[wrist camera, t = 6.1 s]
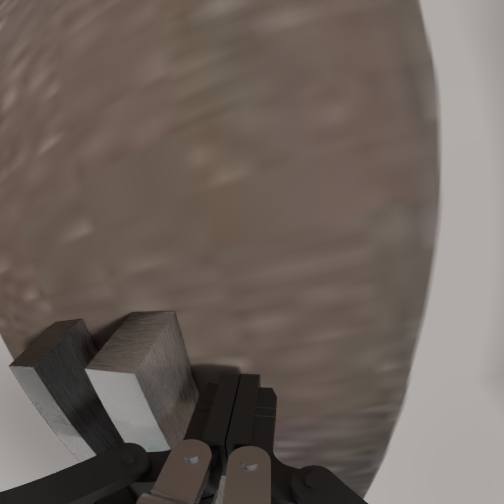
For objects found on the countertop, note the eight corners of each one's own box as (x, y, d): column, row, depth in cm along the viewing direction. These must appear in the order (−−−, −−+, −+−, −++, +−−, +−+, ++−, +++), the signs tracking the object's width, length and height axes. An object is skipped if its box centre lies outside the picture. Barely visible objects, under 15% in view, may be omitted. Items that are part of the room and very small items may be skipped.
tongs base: (252, 522, 19) (245, 572, 14) (199, 519, 20) (187, 566, 15) (127, 312, 13) (62, 389, 8) (55, 322, 13) (-8, 381, 9)
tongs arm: (242, 507, 18) (234, 550, 14) (216, 505, 18) (206, 547, 14) (174, 311, 12) (134, 373, 9) (132, 312, 13) (84, 368, 9)
